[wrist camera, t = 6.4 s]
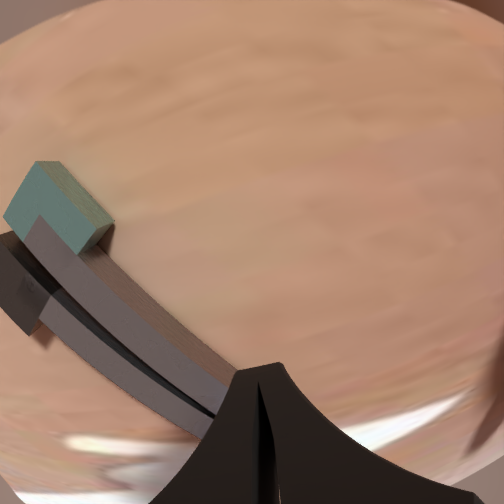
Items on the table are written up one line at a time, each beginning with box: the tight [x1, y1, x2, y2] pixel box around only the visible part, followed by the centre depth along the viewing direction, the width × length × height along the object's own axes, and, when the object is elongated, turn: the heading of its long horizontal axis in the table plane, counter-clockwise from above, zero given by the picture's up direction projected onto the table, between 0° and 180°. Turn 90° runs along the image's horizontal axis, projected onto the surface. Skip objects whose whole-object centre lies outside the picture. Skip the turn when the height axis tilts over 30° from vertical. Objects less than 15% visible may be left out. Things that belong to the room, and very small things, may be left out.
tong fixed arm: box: [0, 231, 216, 439], centre depth 17 cm, size 6×22×3 cm, turn 48°
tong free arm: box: [3, 161, 238, 415], centre depth 16 cm, size 19×4×2 cm, turn 44°
